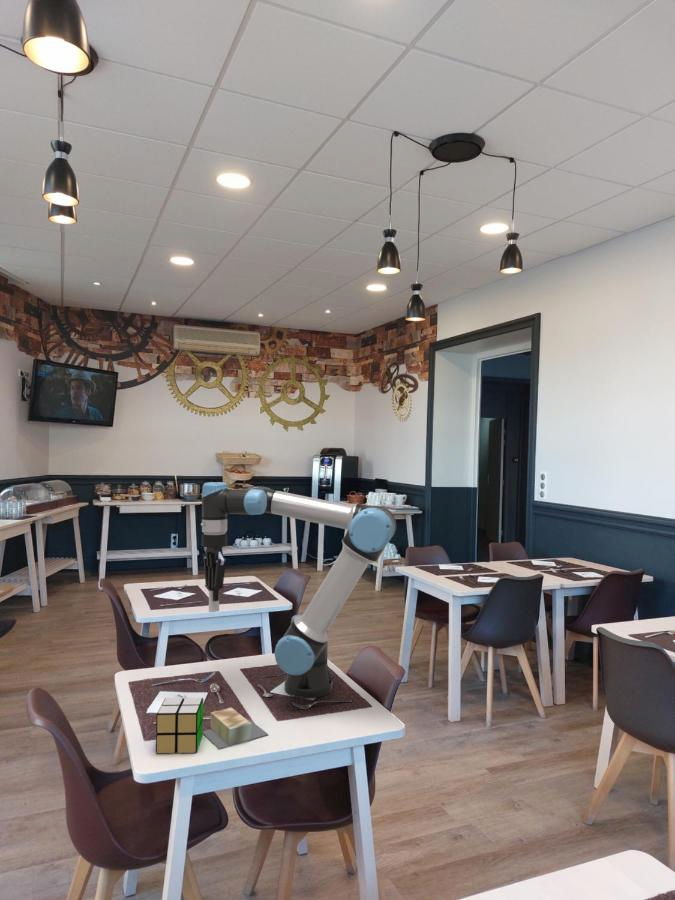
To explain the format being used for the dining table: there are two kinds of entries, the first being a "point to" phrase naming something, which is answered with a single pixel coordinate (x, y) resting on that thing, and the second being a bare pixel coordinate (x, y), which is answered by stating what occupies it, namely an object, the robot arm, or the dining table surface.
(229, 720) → the maple block
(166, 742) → the puzzle cube
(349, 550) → the robot arm
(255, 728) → the felt mat
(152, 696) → the dining table surface
